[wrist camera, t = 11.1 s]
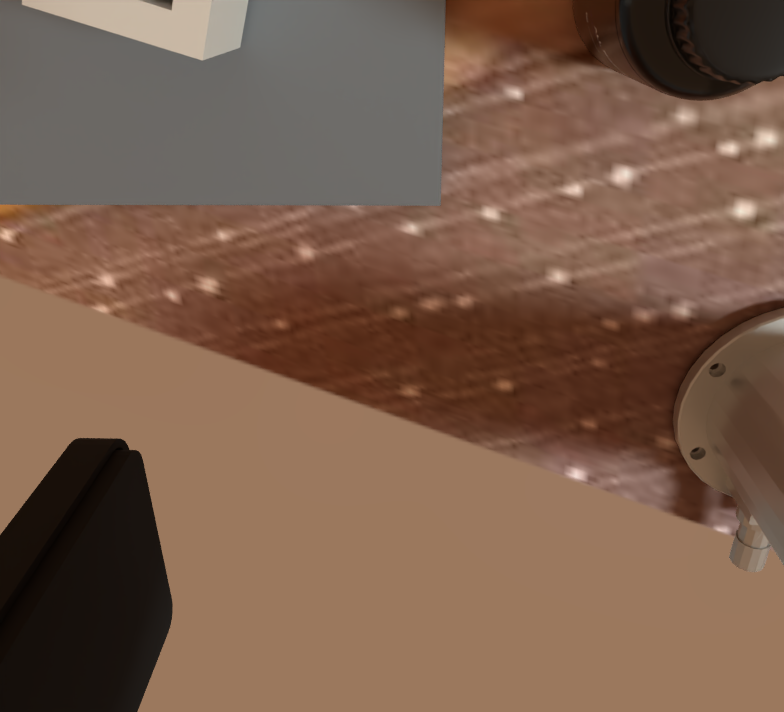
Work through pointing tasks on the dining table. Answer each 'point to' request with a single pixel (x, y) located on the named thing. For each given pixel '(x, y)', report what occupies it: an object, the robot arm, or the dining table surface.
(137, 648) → the robot arm
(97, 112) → the board
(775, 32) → the supplement bottle
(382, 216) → the dining table surface
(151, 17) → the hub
